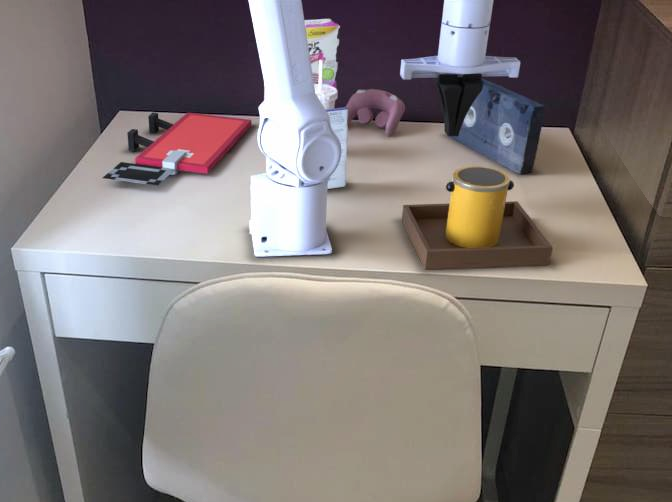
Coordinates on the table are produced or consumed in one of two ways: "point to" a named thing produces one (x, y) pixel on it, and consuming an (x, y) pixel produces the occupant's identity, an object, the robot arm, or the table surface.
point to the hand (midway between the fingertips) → (451, 133)
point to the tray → (511, 250)
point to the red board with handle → (180, 147)
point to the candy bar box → (322, 49)
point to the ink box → (341, 130)
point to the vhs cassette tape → (503, 127)
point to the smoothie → (325, 91)
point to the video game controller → (378, 100)
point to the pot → (476, 206)
